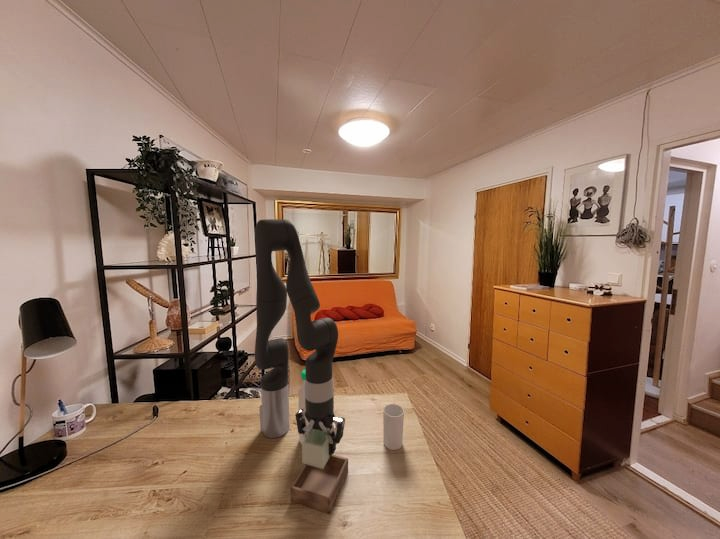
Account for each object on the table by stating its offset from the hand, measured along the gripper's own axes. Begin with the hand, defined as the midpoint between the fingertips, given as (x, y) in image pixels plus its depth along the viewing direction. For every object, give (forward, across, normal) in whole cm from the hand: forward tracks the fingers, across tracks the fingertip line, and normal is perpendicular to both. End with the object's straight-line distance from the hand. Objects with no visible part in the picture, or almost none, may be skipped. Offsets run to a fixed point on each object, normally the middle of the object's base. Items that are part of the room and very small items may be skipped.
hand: (320, 450), depth 74 cm
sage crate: (+1, 0, 0) cm, 1 cm away
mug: (+11, +16, +23) cm, 30 cm away
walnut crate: (+11, 0, 0) cm, 11 cm away
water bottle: (+11, -11, +14) cm, 21 cm away
